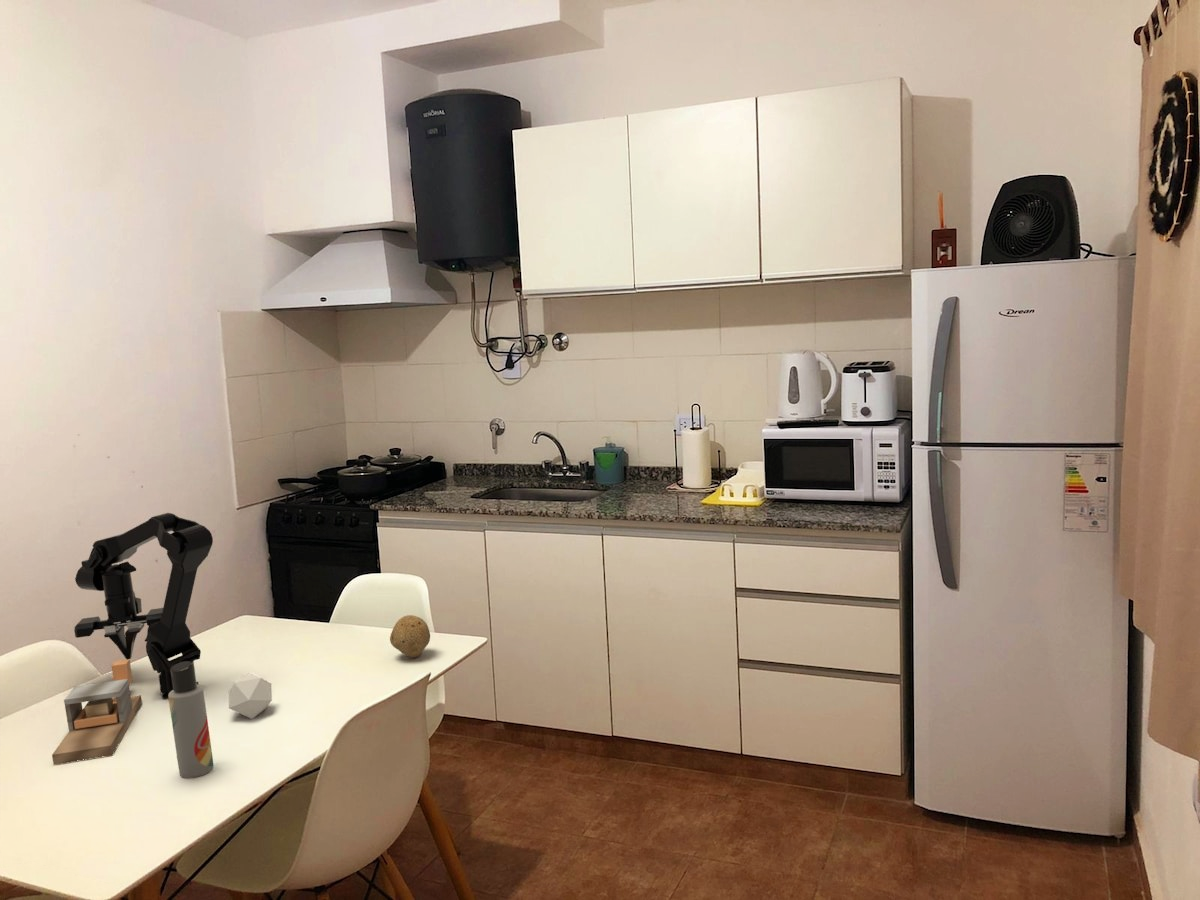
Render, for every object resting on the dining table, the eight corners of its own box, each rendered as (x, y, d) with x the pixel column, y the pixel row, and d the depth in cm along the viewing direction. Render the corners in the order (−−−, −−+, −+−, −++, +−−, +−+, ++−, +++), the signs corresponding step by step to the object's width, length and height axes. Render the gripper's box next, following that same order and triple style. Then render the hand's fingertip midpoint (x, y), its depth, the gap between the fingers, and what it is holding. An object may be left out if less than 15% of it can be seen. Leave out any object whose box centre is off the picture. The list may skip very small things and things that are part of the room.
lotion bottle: (220, 764, 170) (206, 659, 167) (198, 780, 165) (182, 671, 162) (195, 761, 172) (180, 657, 169) (172, 776, 167) (156, 669, 164)
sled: (144, 678, 209) (140, 657, 208) (117, 722, 186) (113, 698, 186) (106, 684, 207) (103, 662, 207) (74, 728, 185) (71, 704, 184)
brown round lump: (385, 663, 215) (380, 621, 213) (402, 649, 223) (398, 609, 222) (422, 664, 213) (418, 622, 211) (437, 650, 221) (433, 609, 220)
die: (282, 714, 192) (279, 669, 196) (252, 710, 185) (249, 663, 189) (251, 727, 194) (248, 681, 199) (220, 723, 187) (217, 676, 191)
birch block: (114, 714, 192) (112, 695, 191) (109, 722, 188) (106, 703, 187) (93, 717, 191) (90, 698, 190) (87, 725, 187) (84, 706, 186)
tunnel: (142, 703, 201) (136, 666, 200) (112, 755, 177) (105, 712, 176) (91, 711, 199) (85, 673, 198) (53, 764, 175) (46, 721, 174)
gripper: (170, 577, 220) (180, 641, 222) (83, 588, 216) (93, 653, 218) (161, 589, 209) (170, 656, 212) (68, 601, 205) (79, 670, 207)
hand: (129, 658), depth 213 cm, fingers closed
